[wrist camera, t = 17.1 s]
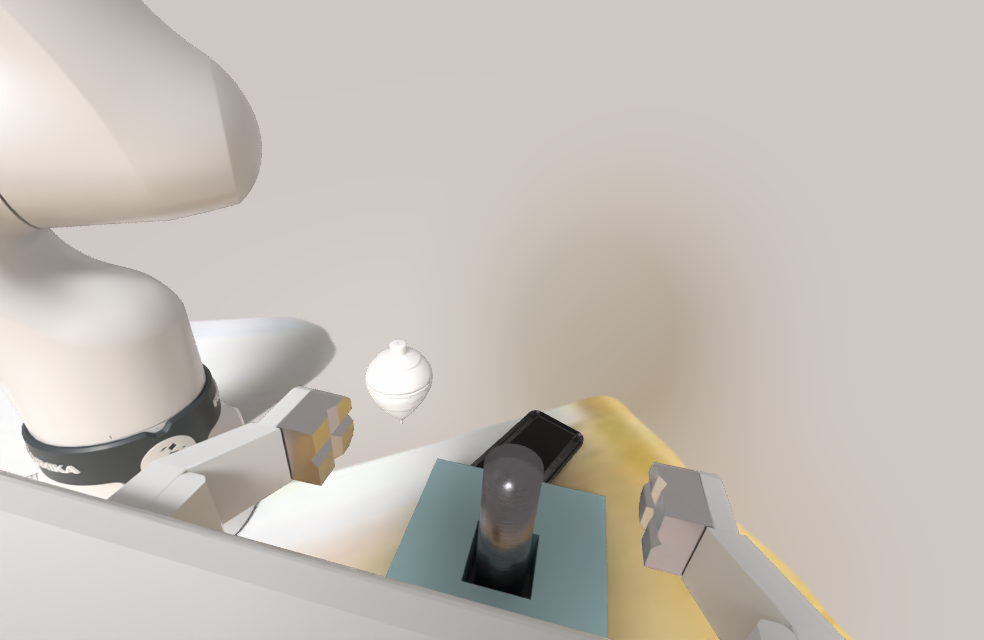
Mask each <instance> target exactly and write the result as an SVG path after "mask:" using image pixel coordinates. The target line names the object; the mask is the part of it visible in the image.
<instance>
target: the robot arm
mask: <svg viewBox="0 0 984 640" xmlns="http://www.w3.org/2000/svg"><path fill="white" fill-rule="evenodd" d="M261 158H262V142H261V136H260V131H259V126H258V123H257V120H256V117H255V115H254V112H253V110H252V108H251V106H250V104H249V102H248V101H247V99H246V97H245V95H244V94H243V92H242V91H241V90H240V88H239V87H238V85H237V84H236V83H235V82H234V81H233V79H232V78H231V77H230V76H229V75H228V74H227V73H226V72H225V71H224V70H223V69H222V68H221V67H220V66H219V65H218V64H217V63H216V62H215V61H213V60H212V59H211V58H210V57H209V56H207V55H206V54H204V53H203V52H201V51H200V50H199V49H197V48H196V47H194V46H193V45H191V44H190V43H189V42H187V41H186V40H185V39H183V38H182V37H181V36H180V35H178V34H177V33H176V32H175V31H173V30H172V29H171V28H170V27H169V26H168V25H166V24H165V23H164V22H163V21H162V20H161V19H160V18H159V17H158V16H156V15H155V14H154V13H153V12H152V11H151V10H150V9H149V8H148V7H147V6H146V5H145V4H144V3H143V2H142V1H141V0H0V388H1V389H2V390H3V392H4V393H5V395H6V396H7V398H8V399H9V401H10V402H11V404H12V405H13V406H14V408H15V409H16V411H17V413H18V414H19V416H20V418H21V419H22V421H23V425H22V435H23V438H24V440H25V444H26V448H27V451H28V452H29V454H30V456H31V458H32V459H33V461H34V462H36V463H37V465H38V473H35V474H33V475H30V476H27V477H23V476H20V475H16V474H12V473H9V472H5V471H2V470H0V640H613V639H609V638H605V637H602V636H598V635H594V634H591V633H587V632H584V631H580V630H576V629H573V628H569V627H565V626H562V625H558V624H555V623H551V622H547V621H544V620H540V619H536V618H533V617H529V616H526V615H522V614H518V613H515V612H511V611H507V610H504V609H500V608H496V607H493V606H489V605H486V604H482V603H478V602H475V601H471V600H467V599H464V598H460V597H457V596H453V595H449V594H446V593H442V592H439V591H435V590H431V589H428V588H424V587H421V586H417V585H413V584H410V583H406V582H402V581H399V580H395V579H392V578H388V577H384V576H381V575H377V574H374V573H370V572H366V571H363V570H359V569H356V568H352V567H348V566H345V565H341V564H338V563H334V562H330V561H327V560H323V559H319V558H316V557H312V556H309V555H305V554H301V553H298V552H294V551H291V550H287V549H283V548H280V547H276V546H273V545H269V544H265V543H262V542H258V541H254V540H251V539H247V538H244V537H240V536H236V535H235V534H236V533H237V532H238V531H239V530H240V529H241V527H242V526H243V525H244V523H245V522H246V521H247V519H248V518H249V516H250V514H251V513H252V511H253V509H254V506H255V504H256V503H258V502H259V501H261V500H263V499H264V498H266V497H267V496H269V495H270V494H272V493H274V492H275V491H277V490H278V489H280V488H282V487H283V486H285V485H286V484H288V483H289V482H291V481H292V480H297V481H302V482H306V483H311V484H315V485H320V486H321V485H322V484H323V483H324V481H325V480H326V478H327V477H328V476H329V474H330V473H331V471H332V470H333V468H334V467H335V464H334V459H335V458H337V457H339V456H341V455H343V454H344V453H345V451H346V450H347V448H348V447H349V444H350V442H351V439H352V436H353V430H354V425H353V420H352V419H351V417H350V416H349V415H348V413H349V411H350V410H351V409H352V407H351V400H350V399H349V398H348V397H345V396H341V395H337V394H332V393H328V392H324V391H320V390H316V389H315V390H314V389H310V388H306V387H302V386H297V387H294V388H293V389H292V390H291V391H290V392H288V393H287V394H286V395H285V396H284V397H283V398H282V399H281V400H280V401H279V402H278V403H277V404H276V405H275V406H274V407H273V408H272V409H271V410H270V411H269V412H268V413H267V414H266V415H265V416H264V417H263V418H262V419H261V420H260V421H259V422H258V423H254V422H251V423H248V424H246V425H245V423H244V421H243V418H242V415H241V413H240V411H239V409H238V408H237V407H232V406H230V405H229V404H227V403H224V402H220V399H219V391H218V388H217V385H216V382H215V380H214V379H213V378H212V375H211V373H210V371H209V369H208V368H207V367H206V366H205V365H203V364H202V362H201V358H200V355H199V352H198V349H197V346H196V342H195V339H194V336H193V333H192V329H191V326H190V323H189V320H188V317H187V313H186V310H185V307H184V304H183V303H182V301H181V300H180V299H179V297H178V296H177V295H176V294H175V293H174V292H173V291H172V290H171V289H170V288H168V287H167V286H166V285H164V284H163V283H161V282H160V281H158V280H157V279H155V278H153V277H151V276H149V275H147V274H145V273H143V272H140V271H137V270H133V269H130V268H126V267H122V266H118V265H114V264H110V263H106V262H102V261H100V260H97V259H94V258H91V257H89V256H87V255H85V254H83V253H81V252H79V251H78V250H76V249H74V248H72V247H71V246H69V245H68V244H66V243H65V242H64V241H63V240H61V239H60V238H59V237H58V236H57V235H55V233H54V232H53V231H52V230H51V229H50V228H56V227H72V226H89V225H103V224H104V225H105V224H120V223H137V222H153V221H169V220H174V219H179V218H183V217H188V216H192V215H196V214H201V213H206V212H210V211H214V210H217V209H221V208H225V207H229V206H233V205H236V204H239V203H241V202H242V201H243V199H244V198H245V197H246V196H247V195H248V193H249V192H250V190H251V189H252V187H253V185H254V183H255V181H256V179H257V176H258V173H259V170H260V165H261ZM291 479H292V480H291ZM649 481H650V482H649V483H647V484H645V485H644V487H643V490H642V493H641V497H640V504H639V519H640V524H641V526H642V527H643V528H644V530H645V532H644V535H643V538H642V550H643V559H644V566H645V567H649V568H653V569H656V570H660V571H664V572H667V573H671V574H674V575H678V576H682V577H681V579H682V580H683V582H684V584H685V585H686V587H687V588H688V590H689V592H690V593H691V595H692V596H693V598H694V600H695V601H696V603H697V604H698V606H699V607H700V609H701V611H702V612H703V614H704V615H705V617H706V619H707V620H708V622H709V623H710V625H711V627H712V628H713V630H714V631H715V633H716V634H717V636H718V638H719V639H720V640H845V638H844V637H843V636H842V635H841V634H840V633H839V632H838V631H837V630H836V629H835V628H834V627H833V626H832V625H831V624H830V623H829V622H828V621H827V620H826V619H825V618H824V616H823V615H822V614H821V613H820V612H819V611H818V610H817V609H816V608H815V607H814V606H813V605H812V604H811V603H810V602H809V601H808V600H807V599H806V598H805V597H804V596H803V595H802V594H801V592H800V591H799V590H798V589H797V588H796V587H795V586H794V585H793V584H792V583H791V582H790V581H789V580H788V579H787V578H786V577H785V576H784V575H783V574H782V573H781V572H780V571H779V570H778V568H777V567H776V566H775V565H774V564H773V563H772V562H771V561H770V560H769V559H768V558H767V557H766V556H765V555H764V554H763V553H762V552H761V551H760V550H759V549H758V548H757V547H756V546H755V544H754V543H753V542H752V541H751V540H750V539H749V538H748V537H747V536H744V535H740V534H739V531H738V528H737V525H736V522H735V519H734V516H733V513H732V510H731V506H730V503H729V500H728V497H727V494H726V491H725V488H724V485H723V482H722V479H721V478H720V477H719V475H716V474H711V473H706V472H701V471H694V470H690V469H686V468H681V467H676V466H671V465H666V464H661V463H656V462H654V463H653V464H652V465H651V468H650V470H649Z"/></svg>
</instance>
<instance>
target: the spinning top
mask: <svg viewBox="0 0 984 640" xmlns="http://www.w3.org/2000/svg"><path fill="white" fill-rule="evenodd" d="M389 346H390V348H387V349H385V350H383V351H381V352H380V353H379V354H378V355H377V356H376V357H375V358H374V359H373V360H372V361H371V363H370V364H369V366H368V368H367V371H366V379H365V382H366V386H367V389H368V392H369V394H370V395H371V397H372V398H373V399H374V400H375V402H376V403H377V404H378V405H379V406H380V407H381V408H382V409H384V410H385V411H386V412H387V413H389V414H390V415H392V416H393V417H395V418H397V419H399V420H400V424H403V419H404V418H406V417H407V416H408V415H410V413H412V412H413V411H414V410H415V409H416V408H417V407H418V406H419V405H420V404H421V402H422V401H423V400H424V398H425V396H426V395H427V393H428V391H429V389H430V387H431V384H432V370H431V367H430V364H429V363H428V361H427V360H426V359H425V357H424V356H422V355H421V354H420V353H419V352H418V351H417V350H415V349H413V348H410V347H407V343H406V341H404V340H402V339H395V340H393V341H391V342H390V343H389Z"/></svg>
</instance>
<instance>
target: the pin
mask: <svg viewBox="0 0 984 640" xmlns="http://www.w3.org/2000/svg"><path fill="white" fill-rule="evenodd" d="M543 475H544V466H543V462H542V460H541V459H540V457H539V456H538V455H537V454H536V453H535V452H534V451H532V450H531V449H529V448H527V447H525V446H522V445H518V444H504V445H500V446H497V447H495V448H494V449H492V450H491V451H490V452H489V453H488V454H487V456H486V457H485V460H484V469H483V480H482V492H481V504H480V516H479V528H478V540H477V552H476V564H475V576H474V585H478V586H482V587H485V588H489V589H493V590H496V591H500V592H504V593H508V594H511V595H515V596H519V597H521V596H522V590H523V585H524V579H525V574H526V568H527V563H528V557H529V552H530V546H531V541H532V535H533V530H534V524H535V519H536V513H537V508H538V502H539V497H540V491H541V486H542V480H543Z"/></svg>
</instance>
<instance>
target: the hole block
mask: <svg viewBox="0 0 984 640" xmlns="http://www.w3.org/2000/svg"><path fill="white" fill-rule="evenodd" d="M482 480H483V469H482V468H477V467H473V466H469V465H464V464H460V463H455V462H451V461H446V460H442V459H438V458H437V461H436V463H435V465H434V468H433V470H432V472H431V474H430V477H429V479H428V481H427V484H426V486H425V488H424V490H423V493H422V495H421V497H420V500H419V502H418V504H417V506H416V509H415V511H414V513H413V516H412V518H411V520H410V522H409V525H408V527H407V529H406V532H405V534H404V536H403V538H402V541H401V543H400V545H399V548H398V550H397V552H396V554H395V557H394V559H393V561H392V564H391V566H390V568H389V570H388V573H387V575H386V577H388V578H392V579H395V580H399V581H402V582H406V583H410V584H413V585H417V586H421V587H424V588H428V589H431V590H435V591H439V592H442V593H446V594H449V595H453V596H457V597H460V598H464V599H467V600H471V601H475V602H478V603H482V604H486V605H489V606H493V607H496V608H500V609H504V610H507V611H511V612H515V613H518V614H522V615H526V616H529V617H533V618H536V619H540V620H544V621H547V622H551V623H555V624H558V625H562V626H565V627H569V628H573V629H576V630H580V631H584V632H587V633H591V634H594V635H598V636H602V637H605V638H608V618H607V563H606V509H605V496H601V495H597V494H593V493H588V492H584V491H579V490H575V489H570V488H566V487H562V486H557V485H553V484H548V483H544V482H542V486H541V491H540V497H539V502H538V508H537V513H536V519H535V524H534V530H533V535H532V541H531V546H530V552H529V557H528V563H527V568H526V574H525V579H524V585H523V590H522V596H521V597H519V596H515V595H511V594H508V593H504V592H500V591H496V590H493V589H489V588H485V587H482V586H478V585H474V576H475V564H476V552H477V540H478V528H479V516H480V504H481V492H482Z"/></svg>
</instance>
